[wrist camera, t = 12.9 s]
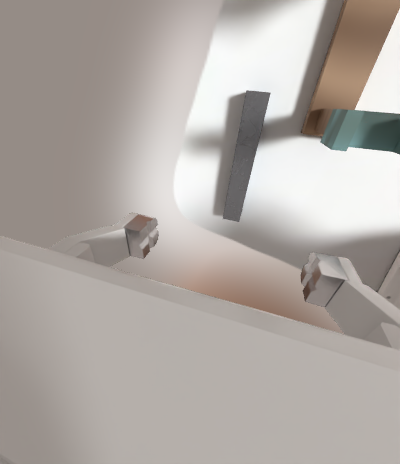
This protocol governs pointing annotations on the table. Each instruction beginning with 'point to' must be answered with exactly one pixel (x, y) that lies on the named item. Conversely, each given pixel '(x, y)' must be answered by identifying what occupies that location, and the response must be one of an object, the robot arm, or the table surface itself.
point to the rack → (353, 81)
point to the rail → (245, 151)
